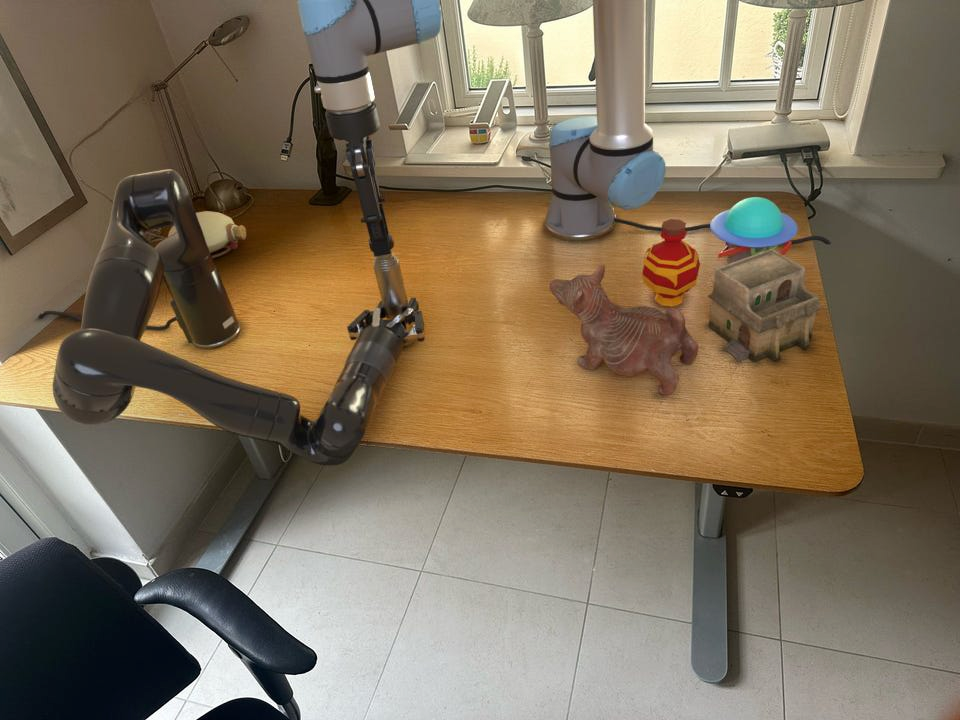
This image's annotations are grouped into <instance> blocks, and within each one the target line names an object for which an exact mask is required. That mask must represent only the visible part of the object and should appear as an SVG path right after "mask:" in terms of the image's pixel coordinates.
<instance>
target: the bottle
mask: <svg viewBox="0 0 960 720" xmlns="http://www.w3.org/2000/svg"><path fill="white" fill-rule="evenodd" d="M390 251H391V254H388V255H382V256H375V257H374V260H373V264H372V265H373V266H372V267H373V271H374V275H375V279H376V283H377V288H378V291H379V295H380V301H381V300H382V304H383V308H384V312H385V316H386V317H385V320H394V319H395V318H396V317H397V316H398V315H399V314H403V313H404V312H405V311H406V307H407V305H408V303H409V301H408V297H407V296H408V295H407V292H406V287H405V283H404V278H403V273H402V269H401V265H400V261H399V259H398V257H397V256H396V255H395V253H394V252H393V251H392V249H391V250H390ZM407 320H408V319H407ZM413 325H414V323H413V324H412V325H411V326H410V328H409V331H408V332H410V331H411V329H412V328H413ZM415 340H416V338H415V339H409V341H408V342H407V343H406V344H405V345H404V346H403V348H404V347H408V346H410V345H412V344H413V343H414V342H415Z"/></svg>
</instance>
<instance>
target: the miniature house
mask: <svg viewBox="0 0 960 720" xmlns="http://www.w3.org/2000/svg"><path fill="white" fill-rule="evenodd" d="M714 271H715V272H714V279H713V280H714V281H713V289H712V292H711V293H710V294H708V295H707V297H708V298H710V299H711V307H710V315H709V321H708V324H707V325H708V326H707V327H709V328H710V329H711V330H712V331H714V332H715V333H716V334H718V335H719V336H720V337H721V338H723V339H724V340H725V341H726V342H727V344H726V345H725V346H722V351H726V352H727V353H729V354H730V355H731V356H732V357H734V359H736V362H741V361H744V360H746V359H750V360H751V361H752V362H754V363H755V362H758V361H761V360H763V359H765V358H770V359H771V360H772V361H774V362H775V363H777V362H780V361H781V358H782V356H781V352H783V351H785V350H788V349H791V348H793V347H795V346H798V347H799V348H801V349H802V350H804V351H807V350H809V349H810V348H811V344H810V340H812V339H813V330H814V325H815V321H816V316H817V312H818V311H820V310H823V307H822V306H821V305H820V300H821V299H820V297H819V296H818V295H816V294H815V293H813V292H812V291H810V290H808V289H807V288H806V286H805V275H806V268H805V267H804V266H803V265H801V264H799V263H797V262H795V261H794V260H792V259H790V257H789V258H788V257H787V256H785V254H784V255H782V254H780V252H778V251H777V250H775V249H770V250H767V251H764V252H761V253H758V254H756V255H753V256H750V257H747V258H744V259H742V260H739V261H736V262H733V263H730V264H728V263H727V264H725V265H722V266H720V267H717V268H715V270H714Z"/></svg>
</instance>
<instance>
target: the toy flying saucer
mask: <svg viewBox="0 0 960 720" xmlns="http://www.w3.org/2000/svg"><path fill="white" fill-rule="evenodd" d="M709 224H710V228H709V229H710V231H711V233H712V234H713V235H714V236H715V237H716V238H718V240H721V241H723V242H724V243H725V246H724V248H723V249H722V250H720V252H718V254H717V259H721V258H725V257H726V263H727V265H728V264H730V263H733V262H736V261H739V260H742V259H744V258H747V257H750V256H753V255H756V254H758V253H761V252H764V251H767V250H770V249H773V250H775V249H776V248H778V247H779V246H780V245H784V247H783V249H782V250H781V251H780V252H779V253H780V254H782V255H784V256H785V255H786V253H787V252H788V251H789V250H790V249H791V248H792V245H793V244H792V242H791V241H790V240H793V238H794V237H795V236H796V235H797V233H798V231H799V227H798V224H797V223H796V221H795V220H794V218H792V217H791V216H789V215H788V214H786V213H784V212H782V211H781V210H780V208H779V207H778V206H777V204H776V203H775V202H773V201H772V200H769V199H768V198H764V197H761V196H760V197H759V196H753V197H747V198H744V199H742V200H740V201H739V202H738V201H737V203H736V204H734V205H733V206H732V207H731V208H730V209H726V210H724V211H722V212H720V213H718V214H717V215H715V216H714V217H713V218H712V219H711V221H710V223H709Z"/></svg>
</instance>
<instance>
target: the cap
mask: <svg viewBox="0 0 960 720" xmlns="http://www.w3.org/2000/svg"><path fill="white" fill-rule="evenodd" d="M387 238H388V243H389V247H390V250H391V251H392V249H393V248H394V247H395V242H394V238H393V235H392V234H390V233H389V234H387ZM368 246H369V249H370V252H372V253H373V249H372V245H371V241H370V238H369V239H368Z"/></svg>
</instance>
